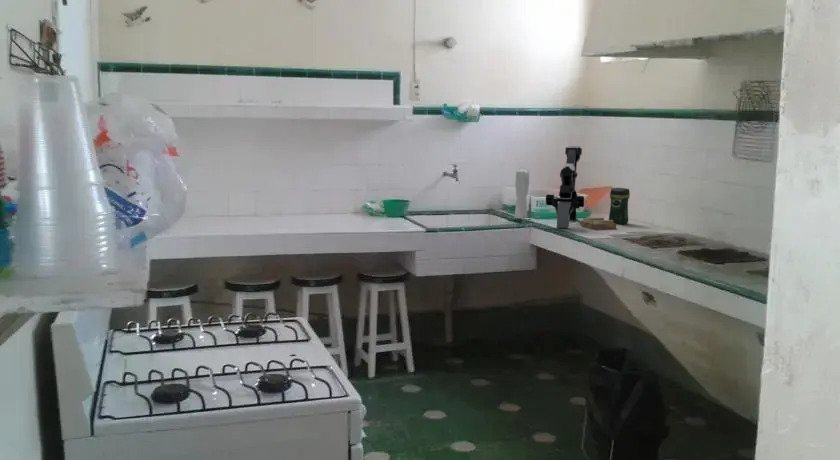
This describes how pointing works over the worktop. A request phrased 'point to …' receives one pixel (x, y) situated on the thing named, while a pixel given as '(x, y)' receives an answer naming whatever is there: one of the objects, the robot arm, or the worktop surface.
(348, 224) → the worktop surface
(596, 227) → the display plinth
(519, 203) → the white waisted cylinder
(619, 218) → the coffee jar
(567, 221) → the tall grey pillar block
